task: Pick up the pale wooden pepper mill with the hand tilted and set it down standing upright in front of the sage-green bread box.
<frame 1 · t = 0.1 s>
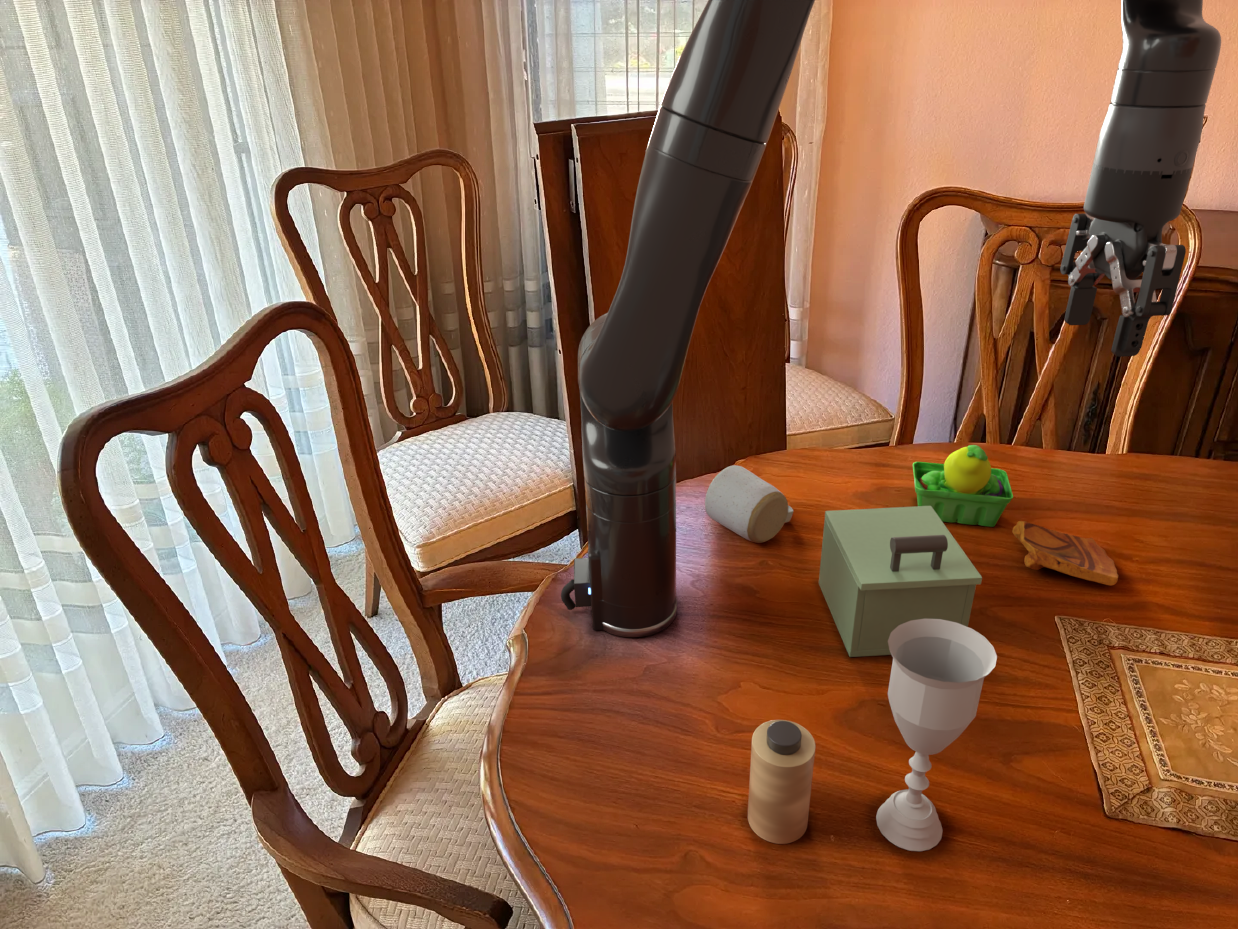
hand: (1099, 338, 81), 29 cm above the table, tool pointing down, fingers open, 8 cm apart
bread box: (886, 615, 92), on the table
pottery fragment: (1064, 568, 99), on the table
bread box lid: (900, 530, 86), point 11 cm above the table, hinge at 0.0°
pepper mill: (777, 818, 70), on the table
fruit basket: (955, 517, 109), on the table
ceramic mug: (752, 527, 109), on the table
chalice: (908, 825, 69), on the table
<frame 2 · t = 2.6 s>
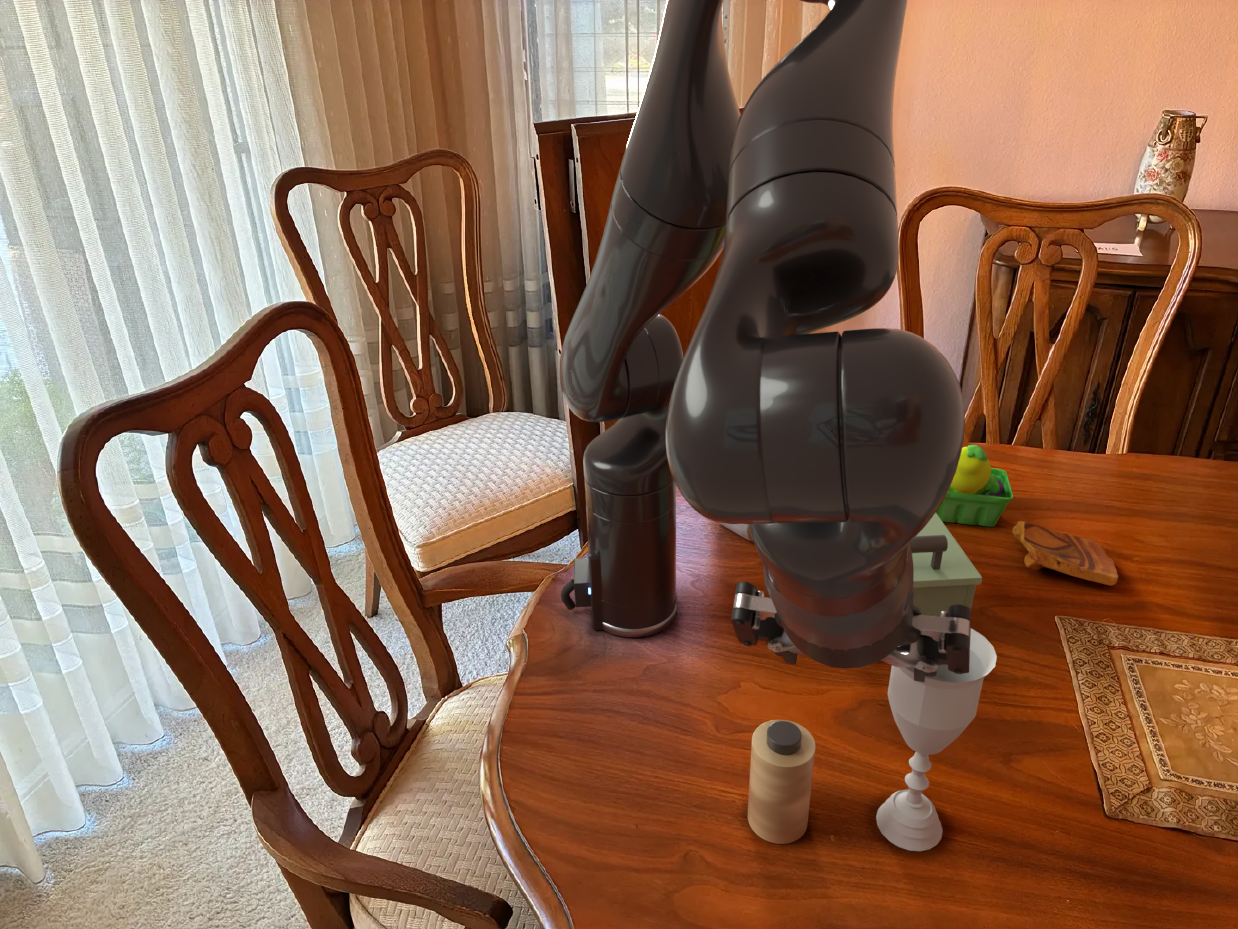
hand: (854, 658, 59), 18 cm above the table, tool tilted 35°, fingers open, 8 cm apart
nothing on the table moved.
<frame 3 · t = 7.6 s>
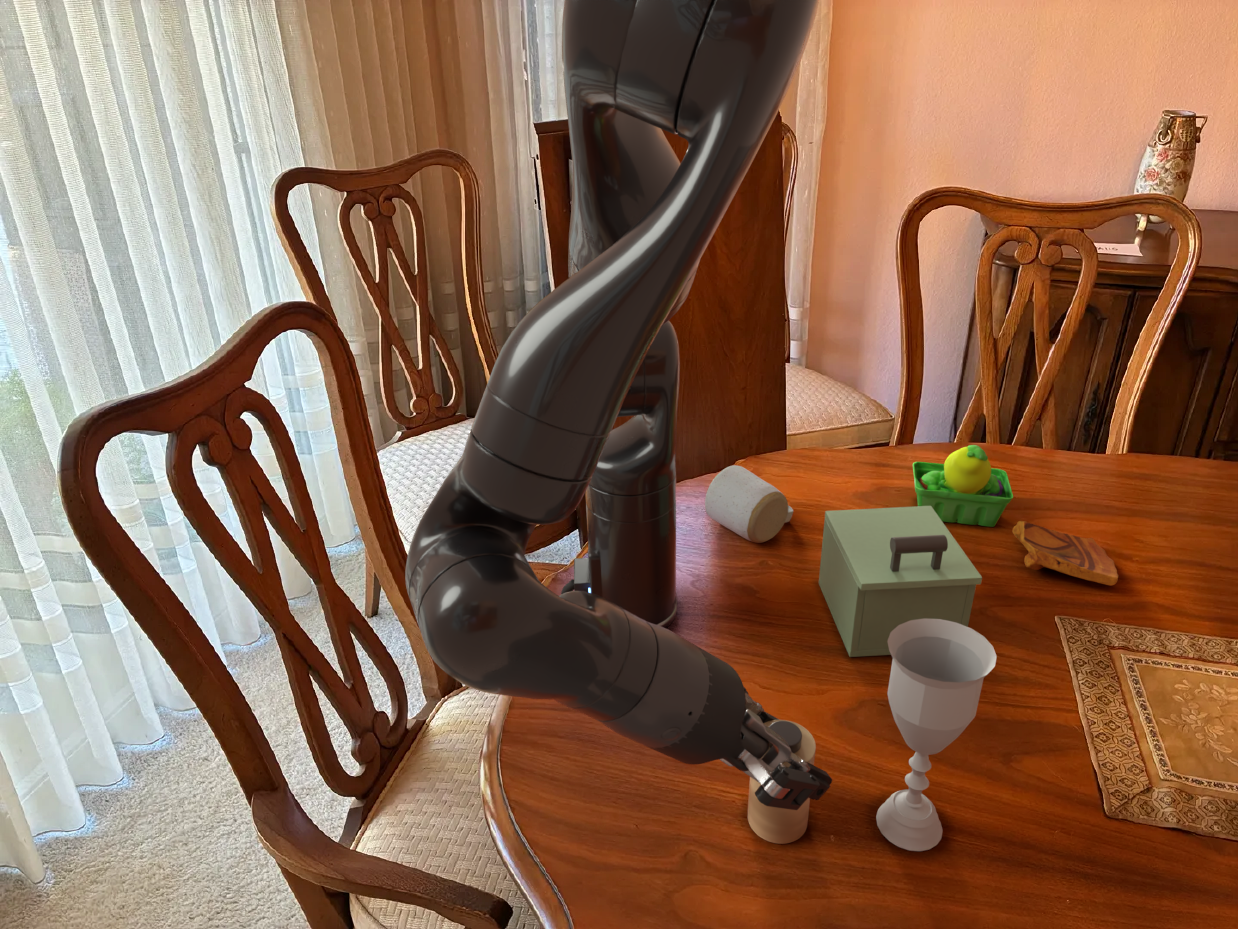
hand: (801, 761, 68), 6 cm above the table, tool tilted 45°, fingers closed on pepper mill, 5 cm apart
pepper mill: (777, 818, 70), on the table, touching gripper
everything else where it was.
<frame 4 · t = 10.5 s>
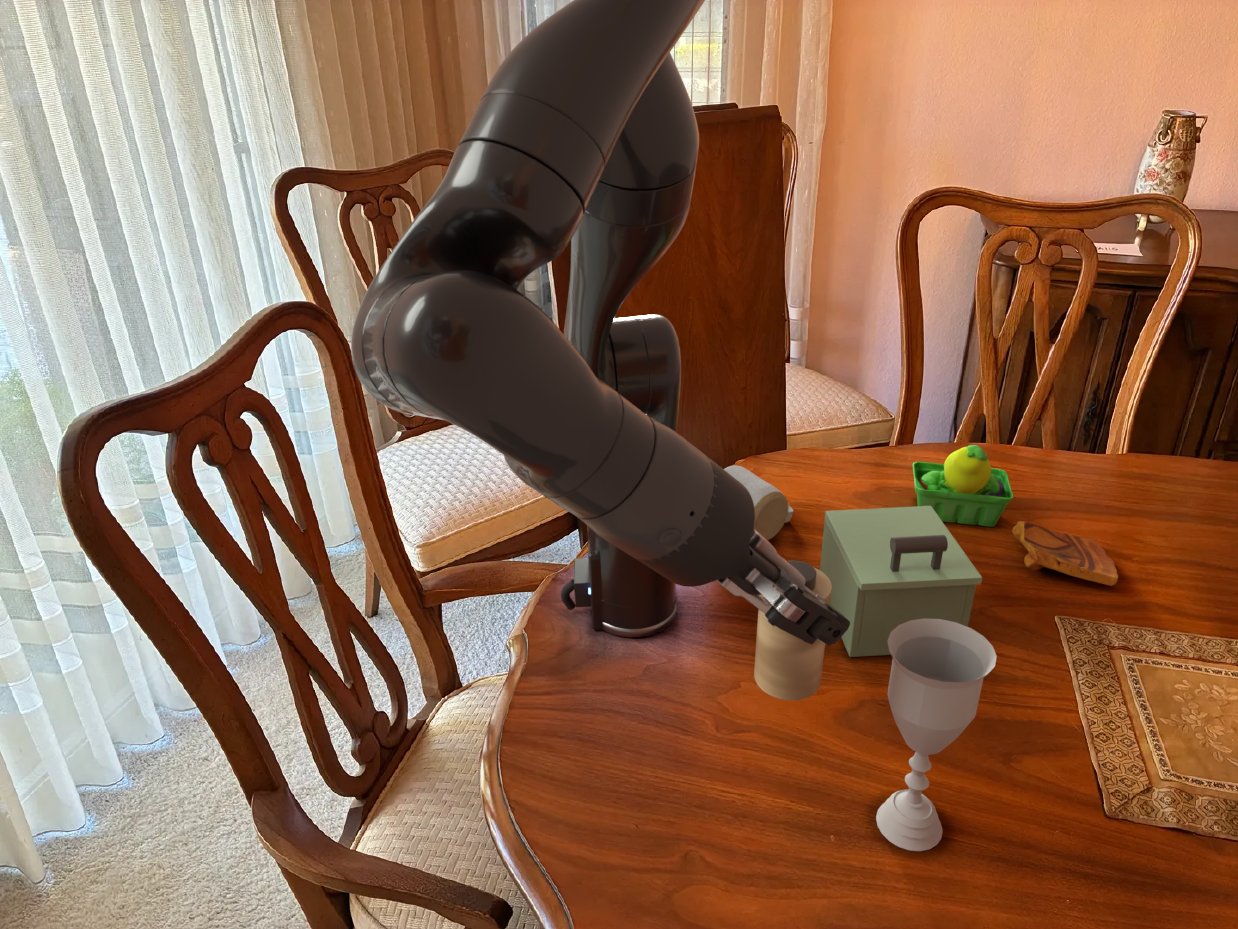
hand: (815, 609, 61), 21 cm above the table, tool tilted 45°, fingers closed on pepper mill, 5 cm apart
pepper mill: (787, 677, 63), point 15 cm above the table, touching gripper
everything else where it was.
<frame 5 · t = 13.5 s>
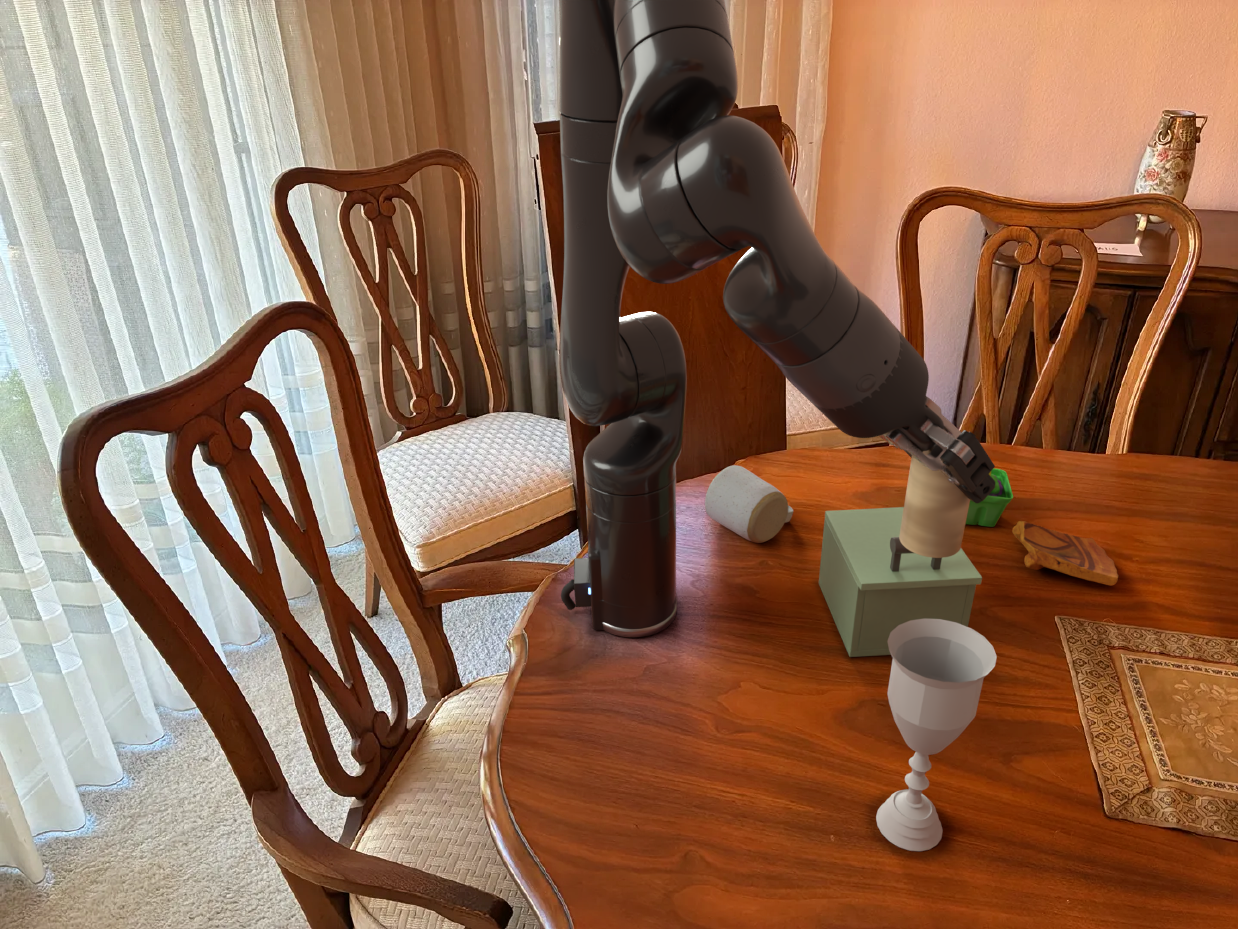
hand: (958, 476, 68), 25 cm above the table, tool tilted 45°, fingers closed on pepper mill, 5 cm apart
pepper mill: (929, 541, 70), point 19 cm above the table, touching gripper
everything else where it was.
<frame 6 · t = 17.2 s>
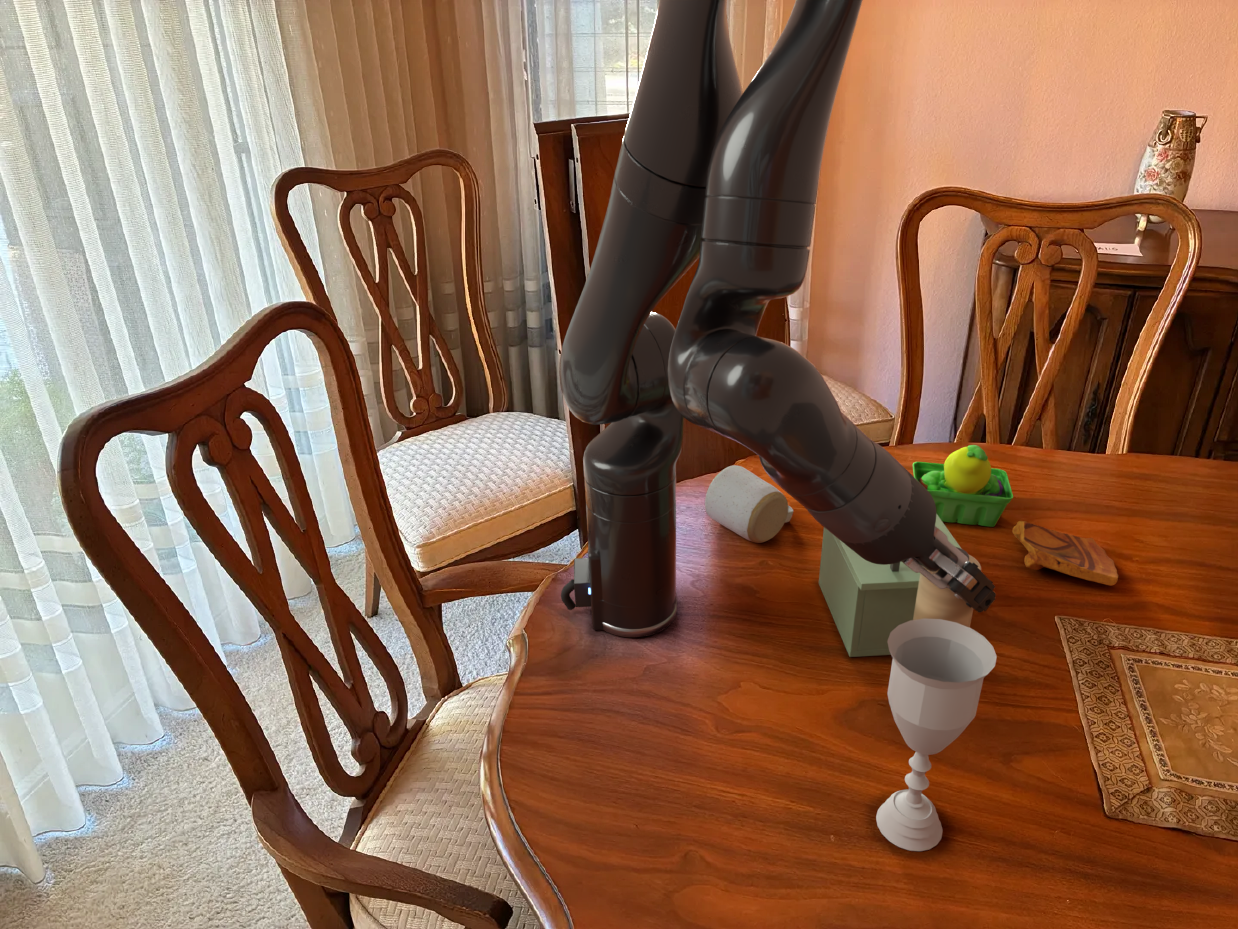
hand: (963, 585, 76), 12 cm above the table, tool tilted 45°, fingers closed on pepper mill, 5 cm apart
pepper mill: (937, 641, 78), point 7 cm above the table, touching gripper
everything else where it was.
when the fingers open (6 cm above the table, at t = 19.4 s): pepper mill stays where it is, on the table.
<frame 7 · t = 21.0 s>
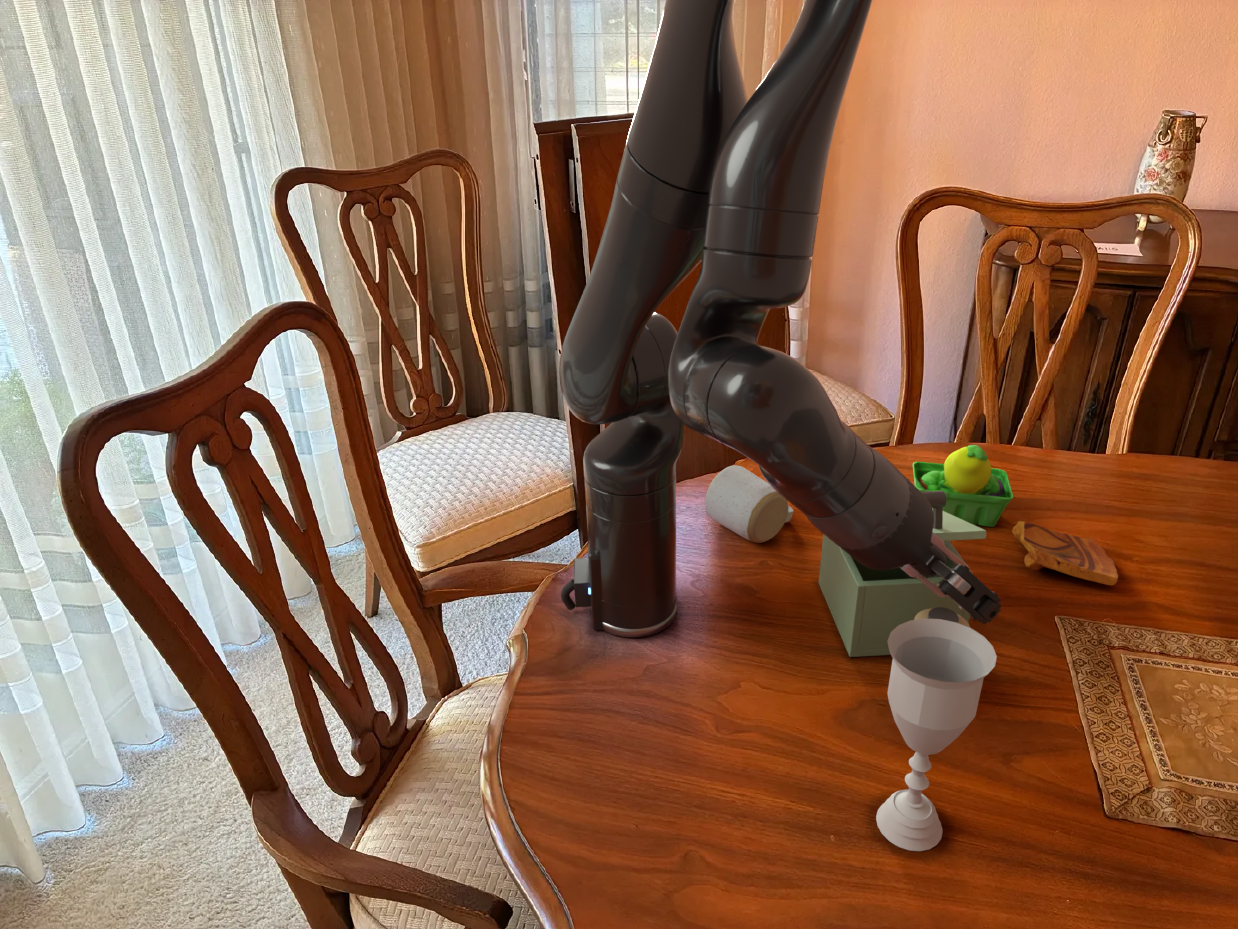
hand: (955, 586, 76), 12 cm above the table, tool tilted 45°, fingers open, 8 cm apart
bread box lid: (899, 506, 86), point 13 cm above the table, hinge at 20.5°
pepper mill: (929, 695, 81), on the table
everything else where it was.
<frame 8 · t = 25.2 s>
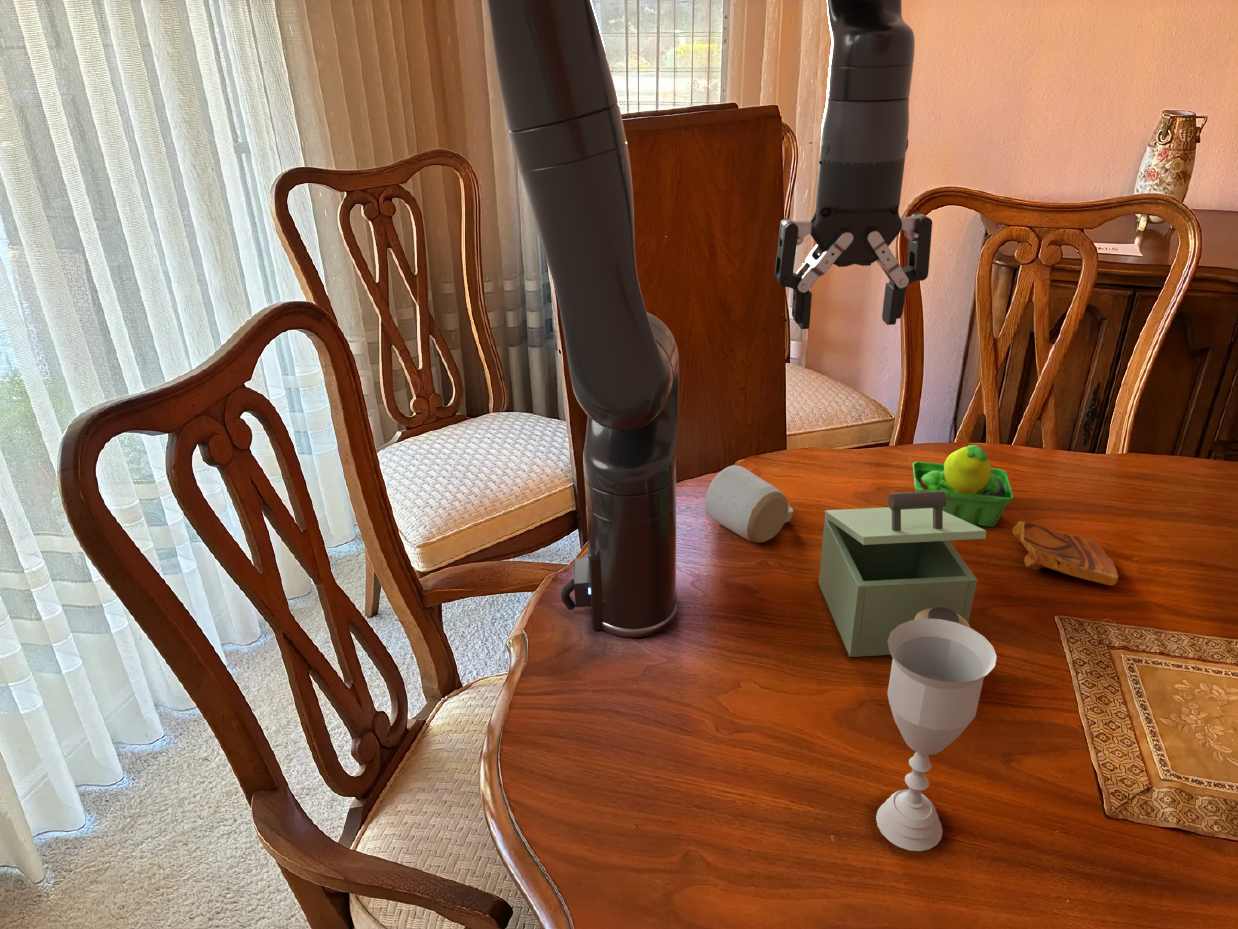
hand: (845, 324, 85), 30 cm above the table, tool pointing down, fingers open, 8 cm apart
nothing on the table moved.
at the end: pepper mill inside the target area on the table beside the bread box (0.1 cm from its centre), on the table; pepper mill tilted 0°; the gripper is holding nothing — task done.
